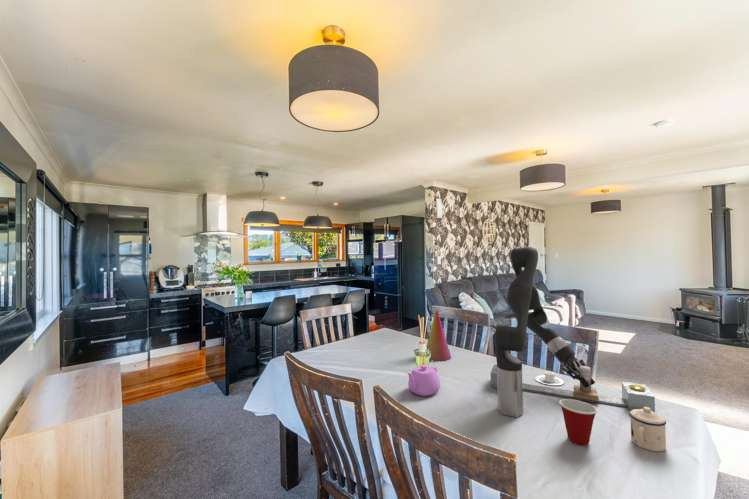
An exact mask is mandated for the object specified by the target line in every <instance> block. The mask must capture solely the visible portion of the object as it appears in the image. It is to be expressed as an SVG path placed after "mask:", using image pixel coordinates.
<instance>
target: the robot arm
mask: <svg viewBox="0 0 749 499" xmlns="http://www.w3.org/2000/svg"><path fill="white" fill-rule="evenodd" d="M538 260H539V252H538V249H537V248H536V247H535V246H525V247H514V248H512V249H511V251H510V262H511V265H512V268H513V271H514V274H515V279H513V280H512V282H511V283H510V284H509V286H508V291H507V296H506V302H507V304H508V306H509V307H510V309H511V311H512V312H513V315H514V317H515V320H516V322H517V324H516V326H508V325H498V326H497V327H496V329H495V330H494V343H495V344H494V345H495V358H496V365H497V388H498V389H497V409H498V411H499V413H500V415H504V416H509V417H515V418H519V417H520V416H522V415H523V414H524V394H523V392H524V391H523V385H522V383H523V362H522V361H521V360H520V359H519V358H517V357H516V356H514V355H513V354H511V353H510V352H517V353H521V352H523V351H524V350H525V347H526V343H527V342H526V340H527V330H528V329H529V330H530V331H531V332H532V333H534V335H536V336H538V337H539V338H541V340H542V342H544V344H545V345H546V346H547V348H548V349H549V351H550V352H551V353H552V354H553V356H554V357H555V358H556V359H557V361H558V362H559V363H561V364H563V365H564V366H563V368H562V369H563V371H564V372H566V373H567V375H569V376H570V377H571V378H572V379H573V380H577V381H579V383H580V382H581V383H582V385H583V386H584V387H585V388H587V387H588V386H590V384H589V383H588V382H587V381H586V380H585V378H584V377H583V376H582V375H581V373H580V369H579V366H587V364H586V363H585V360H583V359H582V358H581V359H579V360H578V358H577V357H575V356H576V352H575V351H574V350H573V349H572V348H571V347H570V346H569V344H568V343H567V342H566V341H565V340H564V339H563V338H562V337H561V336H560V335H559V334H558V332H556V330H555V329H554V328H553V327H551V326H545V327H544V326H543V325H545V324H546V323H547V321H548V315H547V313H546V312H545V310H544V308H543V305H542V304H541V301H540V300H541V299H540V294H539V290H538V289H537V287H536V286H535V284H534V278H535V274H536V270H537V266H538V262H539V261H538ZM529 310H531V311H532V312H530V313H529ZM594 384H596V381H595V380H594V379H593V378H592V377H591V386H593V385H594Z"/></svg>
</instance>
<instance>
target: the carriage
mask: <svg viewBox="0 0 749 499" xmlns="http://www.w3.org/2000/svg"><path fill="white" fill-rule="evenodd" d="M579 370H580V373H581V375H582V376H583V377H584V378H585V380H586V381H587V382H588V383H589V384H590V386H588V387H587V388H585V387H584V386H583V385H582V383H581V382H580V381H579V384H573V391H574V392H575V397H576V398H582V399H588V400H594V401H599V397H598V395H599V394H598V391H597V388H596V387H594V386H593V387H592V385H591V378H592V373H591V372H592V371H591V370H592V369H591V367H590V366H587V365H586V366H579Z"/></svg>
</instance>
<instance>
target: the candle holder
mask: <svg viewBox="0 0 749 499" xmlns="http://www.w3.org/2000/svg"><path fill="white" fill-rule="evenodd" d="M541 377H543V378H544V381H545V382H543V381H541V380H540V379H541ZM534 378H535V381H537V382H539V383H541V384H543V385H548V386H562V385H563V384H564V381H563V379H561V378H560V377H556V376H555V372H553V371H550V370H549V371H545V372H544V374H542V375H537V376H536V377H534ZM556 380H557V381H558V382H559V383H555V381H556Z"/></svg>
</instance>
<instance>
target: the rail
mask: <svg viewBox="0 0 749 499" xmlns="http://www.w3.org/2000/svg"><path fill="white" fill-rule="evenodd" d="M522 385H523V392H529V393H535V394H541V395H546V396H547V395H548V396H554V397H559V398H564V399H573V400H578V401H583V402H585V401H586V402H590V403H591V402H592V403H597V404H602V405H611V406H615V407H621V408H622V407H623V408H627V410H628V412H630V411H632V410H634V409H643V407H649V408H650V409H651V411H653V412H654V413H656V400H655V395H654V394H653V392H652V391H651V390H650V388H649V387H648V386H647V384H643V383H635V382H627V381H621V397H620V398H619V397H613V396H608V395H601V394H598V397H599V401H594V400H588V399H582V398H576V397H575V392H574V390H568V389H563V388H555V387H549V386H541V385H537V384H536V385H535V384H531V383H529V384H528V383H523V382H522ZM490 389H494V390H498V388H497V364H493V367H492V368H491V371H490Z"/></svg>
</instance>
